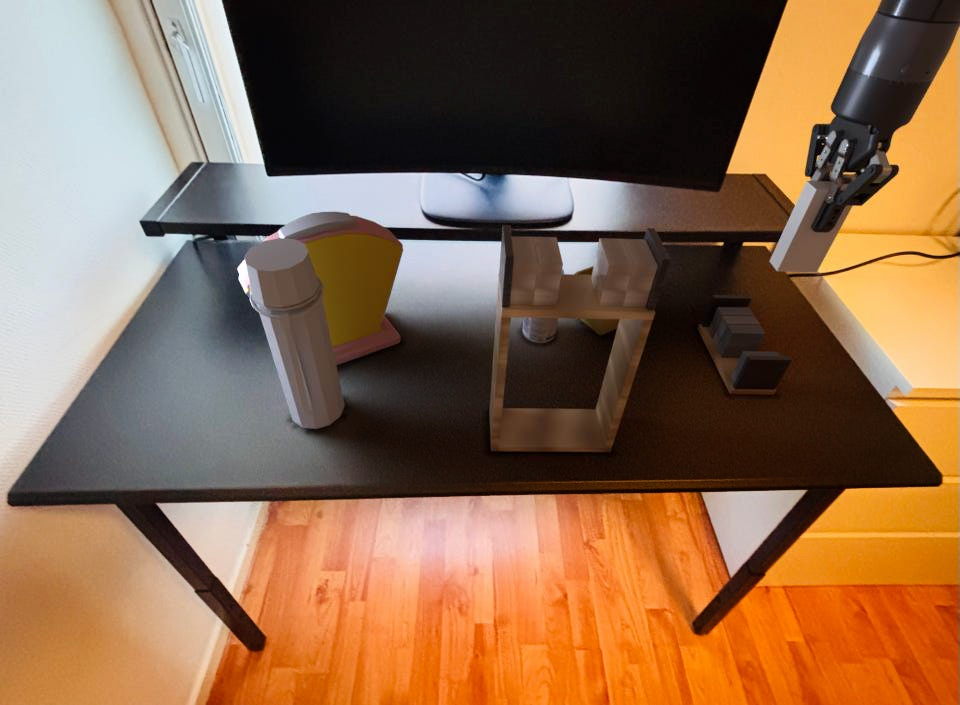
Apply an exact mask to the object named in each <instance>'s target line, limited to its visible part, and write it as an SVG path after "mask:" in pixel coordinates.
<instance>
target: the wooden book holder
mask: <svg viewBox="0 0 960 705" xmlns="http://www.w3.org/2000/svg"><path fill="white" fill-rule="evenodd" d="M499 256H500V258H499V272H498V281H499V294H500V308H501V317H511V318H517V319H519V318H520V319H521V318H523V319H524V318H558V319H574V320H575V319H577V320H579V319H580V320H581V319H634V320H654V318H655V315H656V311H655V310H656V308H657V304H658V302H659V298H660V295H661V292H662V289H663V285H664V282H665V279H666V277H667V273H668V271H669V267H670V264H671V258H670V256H669V253H668V252H667V250H666V248H665V246H664V244H663V242H662V240H661V239H660V237H659V234H658V232H657V231H656V229H655V228H654V227H653V228H652V227H650V228H649V227H647V228H646V231H645V234H644V238H607V237H606V238H605V237H602V238H601V237H599V238H598V244H597V249H596V254H595V259H594V263H593V266H594V267H593V272H592V275H576V274H575V273H574V274H572V273H571V274H567V273H564V274H561V273H562V269H563V267H564V263H563V262H564V261H563V258H562V254H561V250H560V245H559V241H558V238H557V236H515V235H514V236H512V228H511V225H510V224H502V228H501V244H500V255H499Z"/></svg>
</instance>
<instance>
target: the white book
mask: <svg viewBox="0 0 960 705" xmlns="http://www.w3.org/2000/svg"><path fill="white" fill-rule="evenodd" d="M831 183H832V181H810V180H806V181H805V183H804V186H803V188H802V190H801V192H800V194H799V196H798V198H797V200H796V203H795V204H794V207H793V209H792V212H791V214H790V216H789V218H788V220H787V222H786V225H785V226H784V228H783V231H782V233H781V235H780V238H779V239H778V241H777V244H776V246H775V248H774V250H773V253H772V255H771V256H770V259H769V263H770V264H771V265H772V267H773V268H774V269H775V271H776V272H780V273H781V272H790V273H817V272H819V269H820V267H821V265H822V264H823V261H824V260H825V258H826V256H827V254H828V253H829V251H830V249H831V247H832V245H833V243H834V241H835V239H836V238H837V236H838V234H839V232H840V230H841V228H842V227H843V225H844V223H845V221H846V219H847V217H848V216H849V214H850V212H851V210H852V208H853V206H846V207H845V208H844V210H843V212H842V214H841V216H840V218H839V219H838V221H837V222H836V225H835V227H834V228H833V229H832V230H831V231H830V232H827V233H825V232H814V231H813V230H812V229H811V226H812V224H813V222H814V220H815V218H816V216H817V214H818V212H819V210H820V208H821V206H822V204H823V202H824V201H826V196H827V193H828V191H829V188H830V186H831ZM847 186H848V184H844V185H842V187H841V189H840V192H839V193H842V192H843V191H844V190H845V189H846V188H847Z"/></svg>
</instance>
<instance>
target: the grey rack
mask: <svg viewBox="0 0 960 705" xmlns="http://www.w3.org/2000/svg"><path fill="white" fill-rule="evenodd" d="M751 301H752V296H751V295H746V294H745V295H743V294H742V295H739V294H737V295H735V294H731V295H730V294H712V296H711V299H710V301H709V303H708V306H707V309H706V311H705V314H704V316H703V319H702V321H701V323H699V324H698V327H697V331H698V332H699V335H700V336H701V339H702V341H703V343H704V345H705V347H706V349H707V351H708V353H709V355H710V357H711V359H712V361H713V362H714V365H715V367H716V370H717V371H718V373H719V375H720V377H721V379H722V381H723V383H724V385H725V387H726V389H727V391H728V393H729V395H761V396H762V395H763V396H764V395H767V396H768V395H771V396H774V395H775V394H776V392H777V387H778V385H779V384H780V382H781V380H782V378H784V375H785V373H786V371H787V370H788V368H789V366H790V365H791V364H792V361H793V359H792V357H791V356H790V355H781V354H779V352H778V351H759V350H758V349H759V347H760V346H761V344H762V341H763V340H764V337H765V336H766V331H765V330H764V328H763V327H762V326H761V325H760V322H759V321H758V319H757V318H756V316H755V314H754V313H753V311H752V310H751V308H750V307H749V305H750V303H751Z"/></svg>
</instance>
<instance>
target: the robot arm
mask: <svg viewBox="0 0 960 705" xmlns="http://www.w3.org/2000/svg"><path fill="white" fill-rule="evenodd" d="M959 29H960V0H880V2H879V5H878V7H877V10H876V11H875V12H874V14H873V17H872V19H871V20H870V22H869V24H868V26H867V27H866V29H865V31H864V32H863V34H862V35H861V38H860V40H859V42H858V44H857V47H855V48H856V49H855V50H854V53H853V55H852V57H851V60H850V62H849V64H848V66H847V68H846V71H845V72H844V75H843V77H842V79H841V82H840V83H839V86H838V89H837V90H836V93H835V95H834V97H833V99H832V102H831V104H830V110H831V112H832V114H833V115H835V116H834V117H833V118H832V120H831V121H830V122H828V123H815V124H814V125H813V126H812V129H811V134H810V140H809V144H808V145H809V146H808V152H807V158H806V163H805V167H804V168H805V169H804V176H805V177H806V178H810V180H809V181H832V183H831V186H830V188H829V191H828V193H827V196H826V201H824V202H823V204H822V206H821V208H820V210H819V212H818V214H817V216H816V218H815V220H814V222H813V224H812V226H811V229H812V230H813V231H814V232H825V233H827V232H830V231H831V230H832V229H833V228H834V227H835V225H836V222H837V221H838V219H839V218H840V216H841V214H842V212H843V210H844V208H845V207H846V206H852V207H857V206H858V207H861V206H863V205H865V204H866V203H867V202H868V201H869V200H870V199H871V198H872V197H873V196H875V195H876V194H878V192H879V191H881V189H883V188H884V187H885V186H886V185H887V184H889V183H890V181H892V180H893V179H894V178H895V177H896V176H897V175H898V174H899V172H900V166H899V165H898V164H891V163H889V159H888V156H887V153H888V152H889V150H890V148H891V144H892V140H893V136H894V134H895V132H896V131H898V130H899V129H900V128H902V127H904V126H907V125H908V124H909V123H910V122H911V121H912V120H913V118H914V115H915V114H916V112H917V110H918V109H919V106H920V105H921V103H922V102H923V100H924V98H925V96H926V94H927V92H928V91H929V89H930V87H931V85H932V83H933V81H934V80H935V78H936V76H937V74H938V73H939V70H941V67H942V65H943V64H944V62H945V60H946V58H947V56H948V54H949V53H950V50H951V49H952V46H953V43H954V41H955V39H956V36H957V34H958V31H959ZM844 184H848V186H847V188H846V189H845V190H844V191H843V192H842V193H839V192H840V189H841V187H842V185H844Z"/></svg>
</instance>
